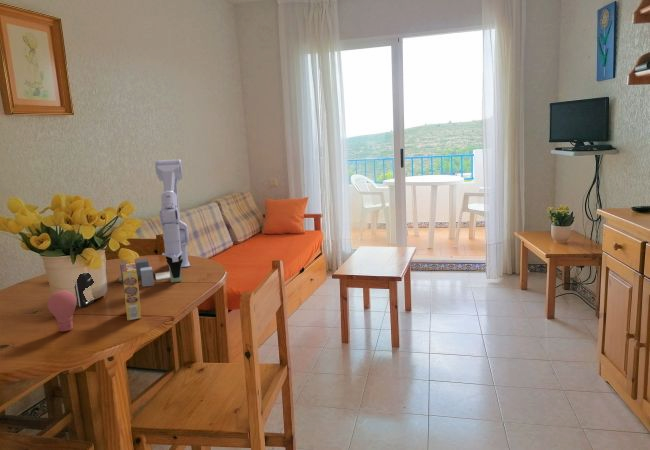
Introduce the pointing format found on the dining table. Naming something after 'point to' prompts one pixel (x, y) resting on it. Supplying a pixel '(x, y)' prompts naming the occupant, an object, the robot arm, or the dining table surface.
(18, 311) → the dining table surface
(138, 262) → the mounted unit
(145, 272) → the blue-grey part
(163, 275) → the plate
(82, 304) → the black curved piece
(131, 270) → the candy box
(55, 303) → the light bulb
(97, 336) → the dining table surface
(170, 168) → the robot arm
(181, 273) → the sage part
